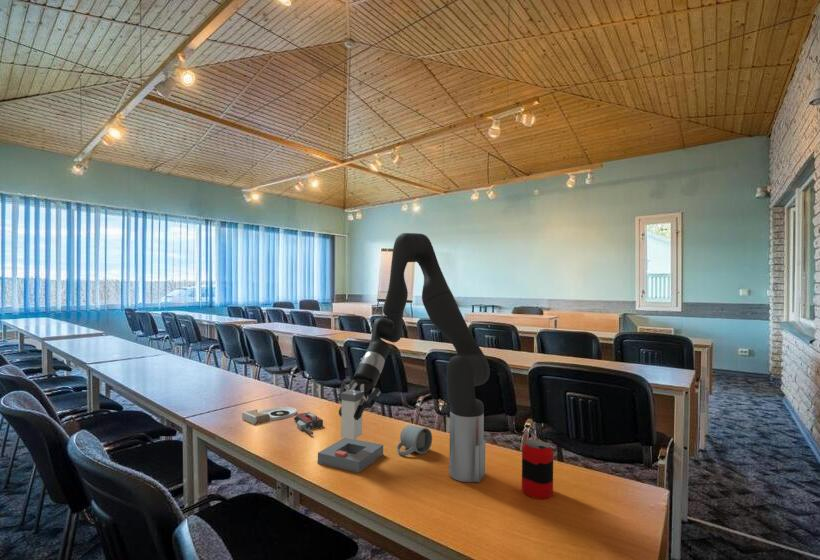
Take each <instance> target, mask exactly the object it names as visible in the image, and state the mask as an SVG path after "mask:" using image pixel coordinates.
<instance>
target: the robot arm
mask: <svg viewBox="0 0 820 560" xmlns="http://www.w3.org/2000/svg"><path fill="white" fill-rule="evenodd" d="M392 248H393V249H392V256H391V265H390V275H389V283H388V288H387V293H386V297H385V301H384V304H383V307H382V313H383V314H384V316H386V317H387V318H385V317H383V316H380V317H378V318H376V319H375V320H374V322H373V324H372V330H371V338H370V342H369V344H368V346H367V349H366V351H365V353H364V355H363V357H362V358H361V360H360V362H359V364H358V367H357V369H356V371H355V373H354V375H353V378H352V380H351V382H350V383H349V384H345V383H344V382H343V383H341V384H340V389H339V394H338V399H337V400H338V401H340V403H341V404H342V400H341V393H343V392H345V391H348V390H356V391H363V394H362V397H361V400H360V403H359V404H360V405H358V407H357V409H356V412H355V414H354V418H355V420H358V419H360V418H361V416H362V417H363V413H364V410H366V409H372V408H373V406H374V405H375V404H376V402H377V400H379V398H380V396H381V395H382V392H381V390H380V389H379V387H376V386H377V383H378V380H379V379H380V376H381V373H382V372H383V369H384V366H385V362H386V360H387V358H388V355H389V353H390V349H391V348H390V346H389V344H388V343H387V342H390V343H397V342H399V341H400V340H401V338H402V335H403V329H404V328H403V315H404V311H405V309H406V305H407V302H408V298H409V297H408V288H407V287H408V286H407V283H406V280H405V270H406V267H407V265H408V263H417V264H418V265H419V267H420V270H421V272H422V275H423V286H422V292H421V300H422V304H423V306H424V308H425V311H426V313H427V315H428V317H429V319H430V321H431V323H432V324H433V325H434V327H436V328H437V329H438V331H439V332H440V333H441V334H443V335H444V336H445V337H446V338H447V339H448V340H449V342H451V344H452V346H453V348H454V349H455V351H456V355H453V356H451V358H450V359H449V361H448V363H447V366H446V393H447V394H446V395H447V400H448V404H449V459H448V460H449V463H448V464H449V466H448V467H449V476H450V477H451V478H452V479H454V480H456V481H458V482H464V483H480V482H481V481H482V480H483V478H484V477H485V475H486V439H485V438H484V429H485V428H484V427H485V426H484V424H485V423H484V420H485V419H484V417H485V416H484V415H485V413H484V412H485V411H484V410H485V407H484V403H483V401H482V400H480V399H479V398H476V394H475V387H478V386H481V385H484V384H485V383H487V381H489V379H490V373H491V370H490V366H489V365H490V364H489V361H488V360H487V358H486V356H485V354H484V352H483V351H482V349H481V347H480V346H479V344H478V342H477V341H476V339H475V338H474V336H473V334H472V332H471V330H470V328H469V326H468V324H467V322H466V320H465V318H464V316H463V314H462V312H461V309H460V308H459V305H458V303H457V301H456V298H455V297H454V294H453V292H452V291H451V289H450V286H449V285H448V283H447V281H446V278H445V275H444V273H443V271H442V269H441V267H440V264H439V261H438V259H437V255H436V252H435V249H434V247H433V245H432V242H431V240H430V238H429V237H428V236H427V235H426V234H424V233H419V232H418V233H414V232H412V233H411V232H403V233H400V234H399V235H397V237H396V238H395V240H394V243H393V247H392ZM386 341H387V342H386ZM341 414H342V412H341V406H340V408H339V410H338V415H339V417H340V418H341Z"/></svg>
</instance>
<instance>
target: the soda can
mask: <svg viewBox="0 0 820 560" xmlns="http://www.w3.org/2000/svg"><path fill="white" fill-rule="evenodd" d="M521 490H522V492H523V493H524V494H525V495H527V496H528V497H530V498H533V497H534V498H533V499H537V498H540V499H539V500H545V499H544V498H547V499H549V498H551V497H552V496H553V494H554V450H553V449H552V447H551V446H550V444H549V443H548V442H546V441H542V440H538V439H537V440H536V439H533V440H528V441H526V442H525V444H524V445H523V446H522V449H521Z"/></svg>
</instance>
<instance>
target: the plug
mask: <svg viewBox="0 0 820 560" xmlns="http://www.w3.org/2000/svg"><path fill="white" fill-rule="evenodd" d="M362 394H363V391H356V390H350V389H349V390H348V391H345V392H343V393H341V400H342V403H341V405H340V407H341V412H342V414H341V417H340V420H341V421H340V437H341V438H342V439H343V438H348V439H353V440H354V439H356V440H357V438H359V437H361V436H362V435H363V415H362V416H361V418H360V419H358V420H355V418H354V414H355V412H356V409H357V407H358V405H360V404H359V403H360V400H361V397H362Z"/></svg>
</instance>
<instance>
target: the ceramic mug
mask: <svg viewBox="0 0 820 560" xmlns="http://www.w3.org/2000/svg"><path fill="white" fill-rule="evenodd" d="M399 440H400V442H399V443H398V444H397V446H396V451H397V454H398V455H400V456H403V457H404V456H409V455H411V454H413V453H414V452H416V453H417V454H419V455H424V454H426V453H427V452H429V450H430V449H431V447H432V442H433V434H432V432H431V430H430V428H427V427H424V426H419V425H414V424H408V425H405V426H404V427H403V428H402V430H401V432H400V436H399ZM403 446H404V448H405V449H406V450H401V448H402V447H403Z"/></svg>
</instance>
